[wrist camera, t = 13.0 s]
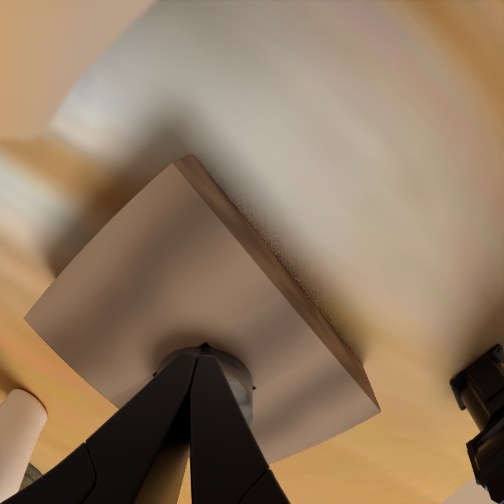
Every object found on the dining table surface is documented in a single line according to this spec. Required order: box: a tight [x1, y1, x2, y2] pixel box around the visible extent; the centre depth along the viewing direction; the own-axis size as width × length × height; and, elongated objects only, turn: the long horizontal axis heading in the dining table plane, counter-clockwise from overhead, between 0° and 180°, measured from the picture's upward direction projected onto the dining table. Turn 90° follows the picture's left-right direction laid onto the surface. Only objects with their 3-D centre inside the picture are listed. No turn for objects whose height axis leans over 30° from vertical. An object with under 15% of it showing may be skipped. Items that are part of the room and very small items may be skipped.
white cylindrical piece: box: [0, 389, 47, 503], centre depth 20 cm, size 7×7×15 cm
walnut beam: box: [24, 154, 381, 464], centre depth 20 cm, size 20×14×5 cm
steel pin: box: [156, 342, 253, 427], centre depth 18 cm, size 6×6×7 cm
